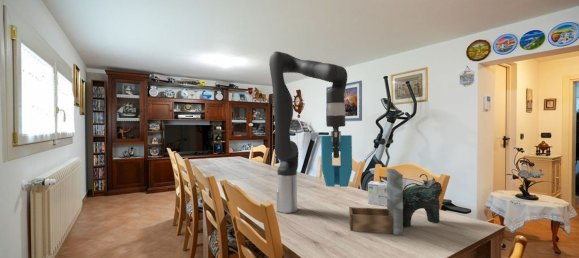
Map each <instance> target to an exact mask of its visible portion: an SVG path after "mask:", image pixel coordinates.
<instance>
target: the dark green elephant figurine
mask: <svg viewBox="0 0 579 258" xmlns="http://www.w3.org/2000/svg"><path fill="white" fill-rule="evenodd" d="M422 176H425V177H426V180H425V179H422V181H423V183H422V184H418V183H415V182H412V183H408V184H407V185H405V186H403V228H409V227H411V226H412V224H411V223H412V217H413V215H414V213H415V212H416V211H417V210H420V209H421V210H422V209H424V211H425V214H426V217H427V221H428V222H430V223H432V224H435V223H439V222H440V207H441V204H440V196H441V194H442V192H443V187H442V184H441V183H440V182H439V181H437V180H436V179H435V177H432V178H431V180H429V179H428V178H429V177H428V176H427V174H425V173H421V174H420V175H419V178H422ZM408 186H409V187H408Z"/></svg>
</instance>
